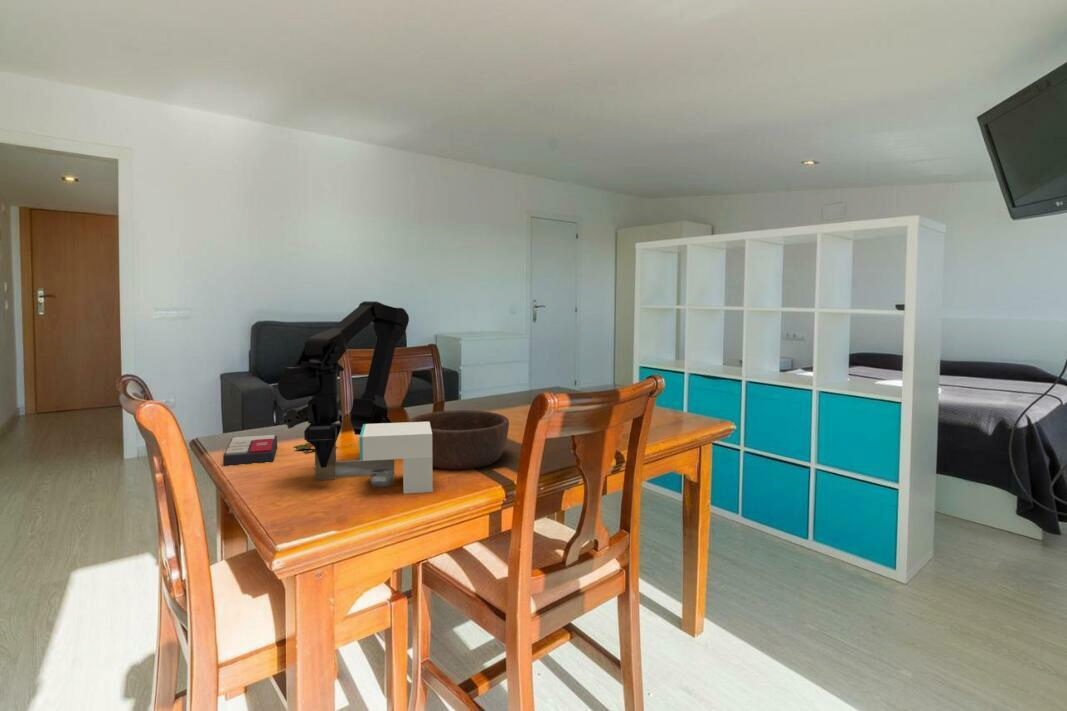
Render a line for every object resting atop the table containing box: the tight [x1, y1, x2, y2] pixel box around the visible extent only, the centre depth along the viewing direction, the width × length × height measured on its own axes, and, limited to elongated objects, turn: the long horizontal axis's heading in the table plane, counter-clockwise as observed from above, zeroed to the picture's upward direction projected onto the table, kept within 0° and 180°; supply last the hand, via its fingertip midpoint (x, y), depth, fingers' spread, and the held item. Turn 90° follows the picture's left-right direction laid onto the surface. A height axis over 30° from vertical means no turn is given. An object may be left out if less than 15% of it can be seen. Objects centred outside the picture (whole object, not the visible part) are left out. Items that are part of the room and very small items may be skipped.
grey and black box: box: [222, 434, 278, 467], centre depth 148 cm, size 11×4×15 cm
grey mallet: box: [314, 444, 395, 482], centre depth 133 cm, size 4×17×7 cm, turn 103°
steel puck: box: [370, 469, 395, 489], centre depth 127 cm, size 5×5×3 cm
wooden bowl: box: [409, 409, 510, 471], centre depth 147 cm, size 25×25×10 cm
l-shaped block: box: [358, 421, 434, 495], centre depth 126 cm, size 12×15×12 cm
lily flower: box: [292, 442, 338, 454], centre depth 157 cm, size 12×12×5 cm
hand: (326, 461), depth 131 cm, fingers open, 9 cm apart
